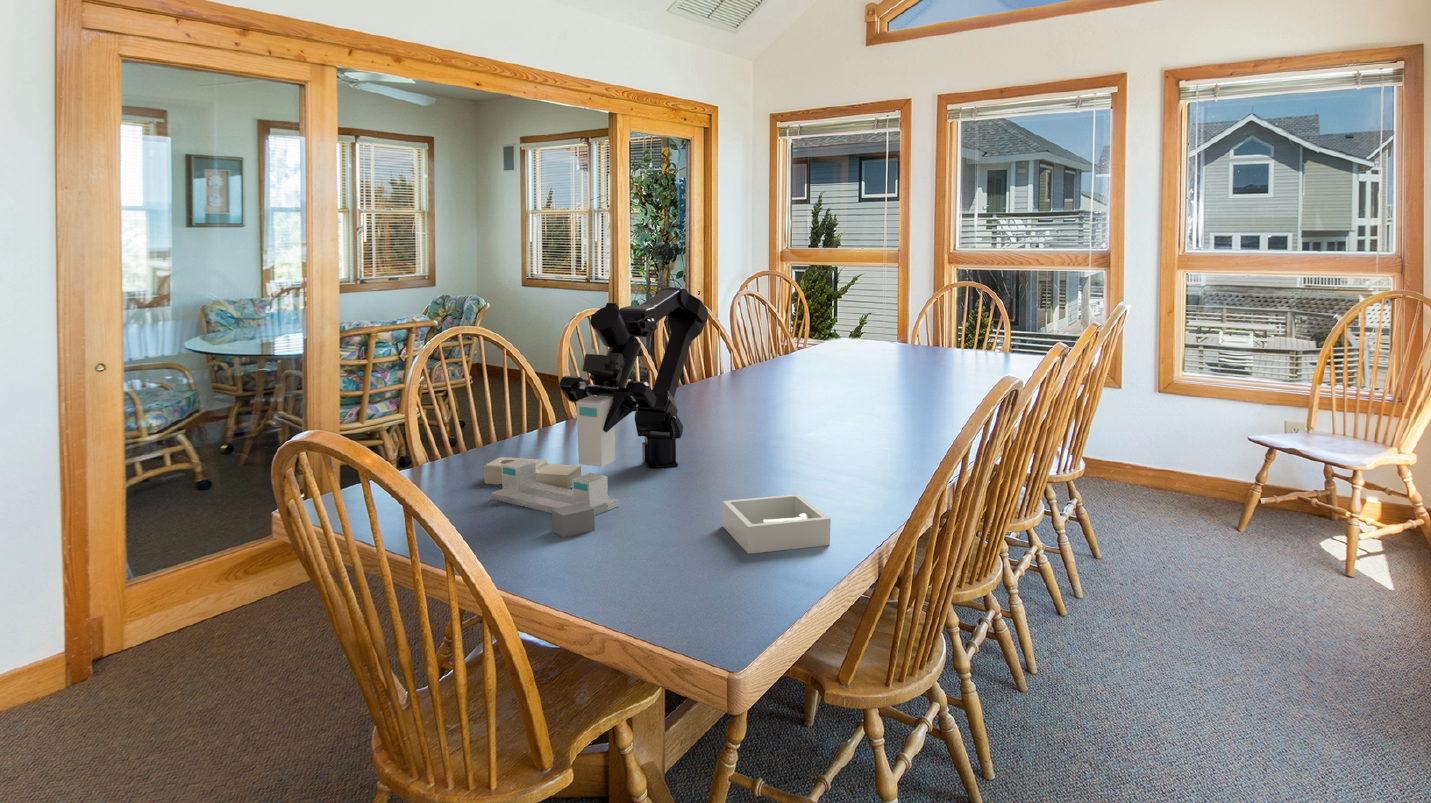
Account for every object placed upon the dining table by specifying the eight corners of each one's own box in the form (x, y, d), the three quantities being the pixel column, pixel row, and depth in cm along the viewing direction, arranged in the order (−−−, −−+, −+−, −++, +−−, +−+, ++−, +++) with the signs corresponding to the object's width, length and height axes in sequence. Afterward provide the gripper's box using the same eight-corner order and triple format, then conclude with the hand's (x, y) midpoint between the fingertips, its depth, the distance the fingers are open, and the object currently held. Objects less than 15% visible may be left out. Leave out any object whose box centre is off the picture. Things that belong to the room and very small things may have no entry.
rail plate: (529, 486, 181) (527, 456, 180) (619, 505, 169) (618, 473, 168) (491, 498, 173) (489, 467, 172) (582, 520, 161) (581, 486, 159)
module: (592, 457, 176) (590, 395, 173) (615, 459, 174) (613, 397, 171) (578, 464, 171) (575, 400, 169) (601, 467, 169) (599, 402, 167)
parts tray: (798, 518, 162) (798, 494, 161) (829, 545, 148) (830, 518, 148) (722, 525, 158) (722, 500, 157) (748, 553, 145) (748, 526, 144)
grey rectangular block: (583, 524, 159) (582, 502, 158) (594, 530, 156) (594, 508, 155) (552, 532, 155) (551, 509, 154) (563, 538, 152) (562, 515, 151)
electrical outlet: (567, 470, 179) (483, 465, 183) (567, 490, 179) (484, 484, 183) (580, 461, 186) (499, 456, 190) (581, 480, 186) (500, 475, 190)
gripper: (561, 334, 175) (530, 402, 167) (647, 339, 168) (620, 410, 160) (584, 368, 184) (556, 433, 176) (667, 374, 176) (642, 443, 169)
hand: (592, 429), depth 170 cm, fingers closed on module, 5 cm apart
